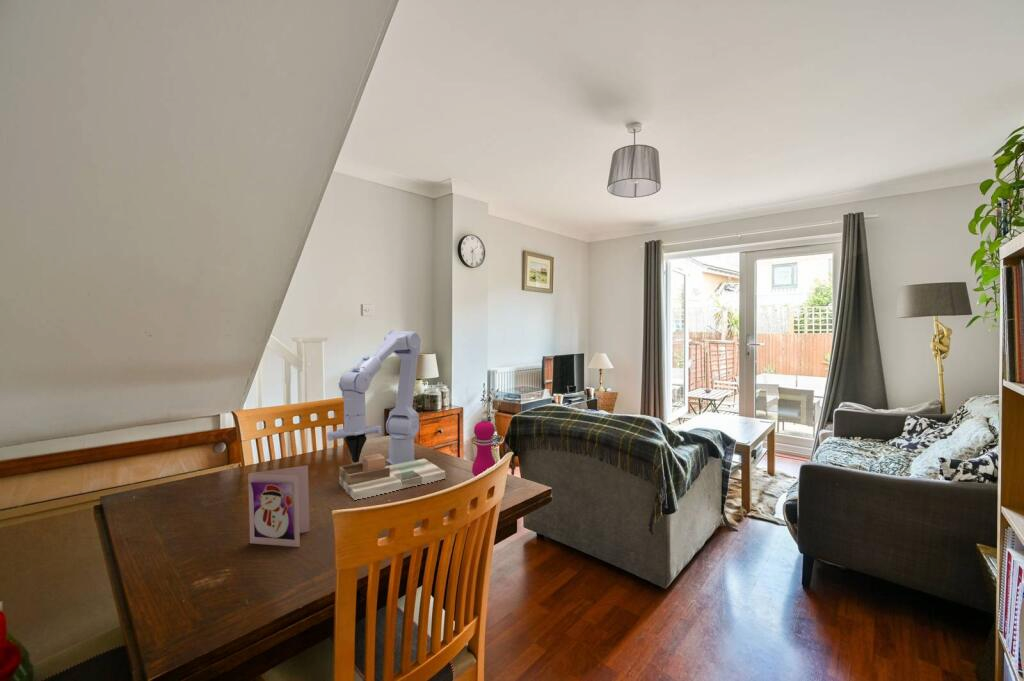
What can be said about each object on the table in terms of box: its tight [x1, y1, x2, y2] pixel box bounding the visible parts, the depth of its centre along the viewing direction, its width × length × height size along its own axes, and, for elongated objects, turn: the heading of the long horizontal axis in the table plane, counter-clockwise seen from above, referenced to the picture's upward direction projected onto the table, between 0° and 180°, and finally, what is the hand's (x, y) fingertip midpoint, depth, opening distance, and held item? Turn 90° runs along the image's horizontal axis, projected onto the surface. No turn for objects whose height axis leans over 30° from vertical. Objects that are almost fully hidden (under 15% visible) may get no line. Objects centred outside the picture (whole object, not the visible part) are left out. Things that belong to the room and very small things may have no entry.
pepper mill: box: [471, 415, 497, 477], centre depth 124 cm, size 7×7×20 cm
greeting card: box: [247, 465, 310, 548], centre depth 93 cm, size 11×7×15 cm, turn 82°
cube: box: [362, 453, 386, 472], centre depth 126 cm, size 5×5×5 cm
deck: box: [338, 458, 446, 501], centre depth 127 cm, size 15×26×2 cm, turn 126°
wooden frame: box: [338, 462, 390, 485], centre depth 124 cm, size 10×12×2 cm
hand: (355, 461), depth 123 cm, fingers closed
